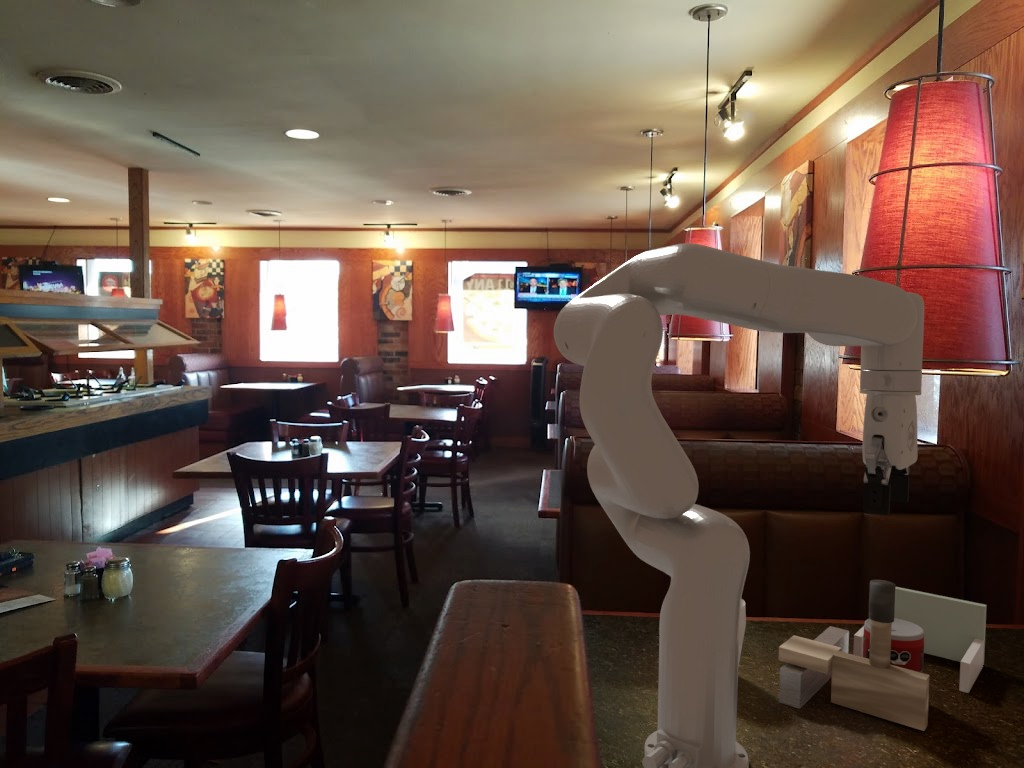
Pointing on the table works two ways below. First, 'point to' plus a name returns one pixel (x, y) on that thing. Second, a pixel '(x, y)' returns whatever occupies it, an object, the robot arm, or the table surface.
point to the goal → (943, 629)
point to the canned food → (901, 644)
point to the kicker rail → (808, 672)
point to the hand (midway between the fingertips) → (886, 507)
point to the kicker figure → (868, 668)
